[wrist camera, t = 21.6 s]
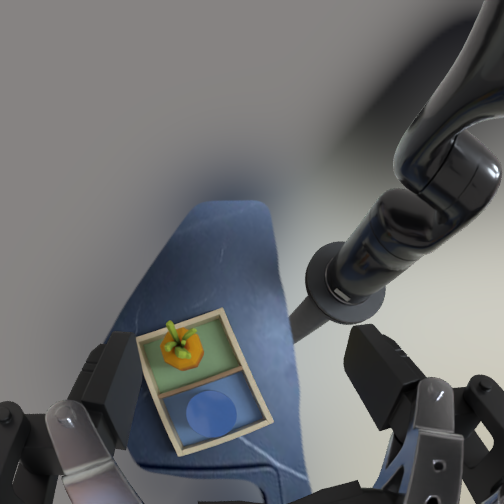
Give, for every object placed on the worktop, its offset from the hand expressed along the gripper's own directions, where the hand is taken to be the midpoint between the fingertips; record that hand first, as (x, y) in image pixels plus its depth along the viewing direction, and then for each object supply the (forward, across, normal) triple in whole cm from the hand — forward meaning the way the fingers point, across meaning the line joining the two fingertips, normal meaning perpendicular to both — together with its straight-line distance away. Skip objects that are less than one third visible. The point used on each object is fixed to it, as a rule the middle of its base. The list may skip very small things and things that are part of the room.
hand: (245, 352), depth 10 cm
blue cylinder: (+19, +2, +26) cm, 32 cm away
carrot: (+25, +5, +20) cm, 33 cm away
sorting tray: (+23, +4, +23) cm, 33 cm away
